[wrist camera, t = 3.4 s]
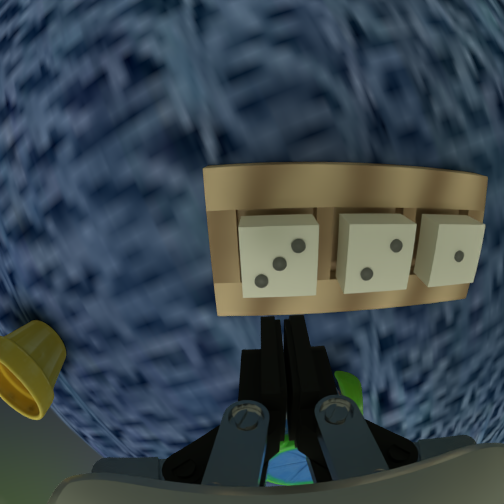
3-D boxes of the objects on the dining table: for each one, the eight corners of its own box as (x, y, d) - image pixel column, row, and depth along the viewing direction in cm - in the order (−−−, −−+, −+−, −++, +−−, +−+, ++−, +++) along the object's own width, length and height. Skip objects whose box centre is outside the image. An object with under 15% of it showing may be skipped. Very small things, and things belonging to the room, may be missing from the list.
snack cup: (300, 434, 34) (306, 497, 25) (230, 413, 32) (223, 483, 23) (381, 361, 29) (410, 433, 19) (304, 328, 27) (320, 413, 18)
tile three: (312, 213, 21) (319, 225, 18) (310, 277, 22) (316, 296, 20) (241, 216, 21) (238, 228, 18) (245, 279, 23) (242, 299, 20)
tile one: (467, 215, 20) (486, 225, 17) (457, 268, 22) (474, 283, 19) (422, 214, 20) (440, 224, 17) (413, 272, 22) (429, 288, 19)
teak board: (474, 173, 21) (487, 176, 19) (456, 288, 25) (465, 298, 23) (207, 165, 22) (202, 168, 20) (220, 303, 26) (217, 315, 24)
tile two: (400, 213, 20) (418, 224, 18) (393, 273, 22) (407, 290, 19) (339, 213, 20) (350, 225, 18) (335, 276, 22) (344, 295, 20)
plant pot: (8, 305, 28) (-35, 346, 19) (56, 305, 27) (8, 357, 18) (39, 366, 32) (8, 410, 23) (90, 373, 31) (58, 429, 22)
